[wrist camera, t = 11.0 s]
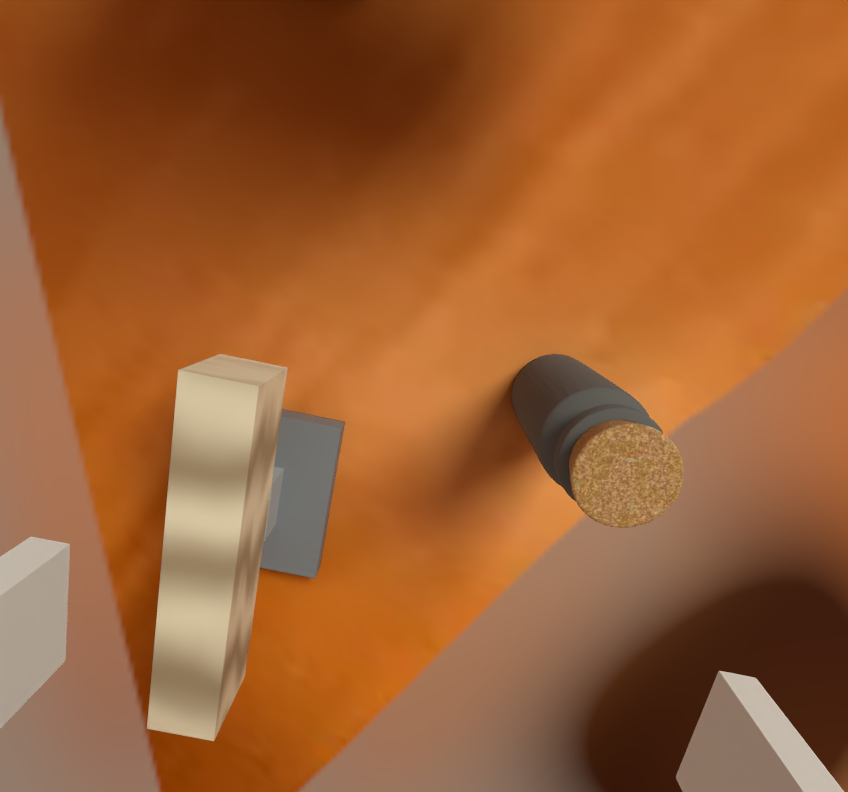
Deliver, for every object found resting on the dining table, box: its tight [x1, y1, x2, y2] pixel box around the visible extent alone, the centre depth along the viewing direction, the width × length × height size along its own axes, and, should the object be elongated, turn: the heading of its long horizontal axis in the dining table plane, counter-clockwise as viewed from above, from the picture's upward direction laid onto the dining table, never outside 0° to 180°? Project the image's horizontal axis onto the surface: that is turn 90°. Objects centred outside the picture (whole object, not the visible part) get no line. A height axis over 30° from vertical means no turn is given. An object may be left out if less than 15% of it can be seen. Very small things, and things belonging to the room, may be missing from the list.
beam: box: [147, 354, 288, 741], centre depth 30 cm, size 22×4×5 cm, turn 169°
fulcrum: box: [260, 409, 345, 578], centre depth 36 cm, size 12×10×6 cm
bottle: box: [512, 354, 684, 528], centre depth 29 cm, size 6×6×15 cm
